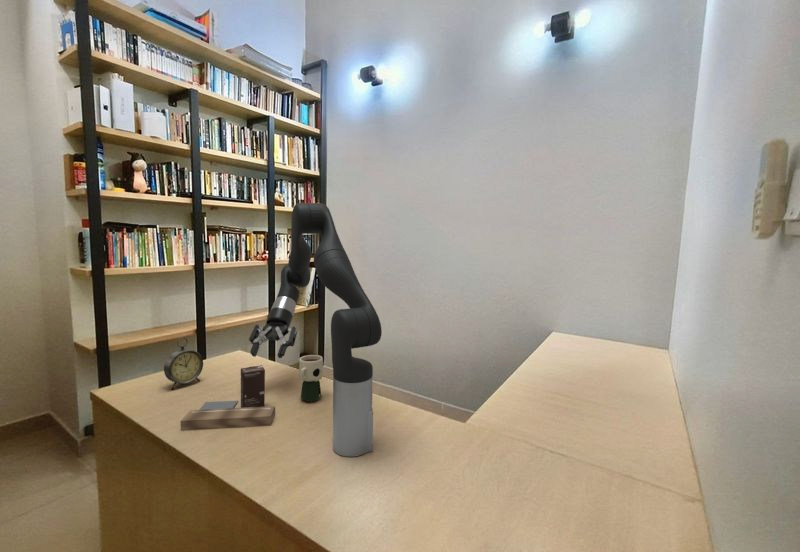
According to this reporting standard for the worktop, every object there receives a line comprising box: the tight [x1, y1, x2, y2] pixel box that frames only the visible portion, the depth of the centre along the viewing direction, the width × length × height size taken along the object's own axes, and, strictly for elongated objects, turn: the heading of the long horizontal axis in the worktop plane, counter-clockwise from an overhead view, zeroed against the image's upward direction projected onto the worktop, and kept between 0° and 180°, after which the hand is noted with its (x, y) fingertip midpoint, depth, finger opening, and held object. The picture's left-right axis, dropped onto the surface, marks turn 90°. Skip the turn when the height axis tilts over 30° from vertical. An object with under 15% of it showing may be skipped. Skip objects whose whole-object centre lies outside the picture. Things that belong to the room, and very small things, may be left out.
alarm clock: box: [163, 336, 204, 390], centre depth 119 cm, size 11×5×16 cm, turn 148°
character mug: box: [298, 354, 324, 402], centre depth 111 cm, size 11×7×13 cm, turn 163°
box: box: [240, 364, 266, 408], centre depth 103 cm, size 6×4×12 cm
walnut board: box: [180, 405, 276, 431], centre depth 96 cm, size 22×6×3 cm, turn 99°
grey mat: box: [198, 400, 239, 410], centre depth 103 cm, size 9×9×1 cm
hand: (266, 356), depth 111 cm, fingers open, 8 cm apart
